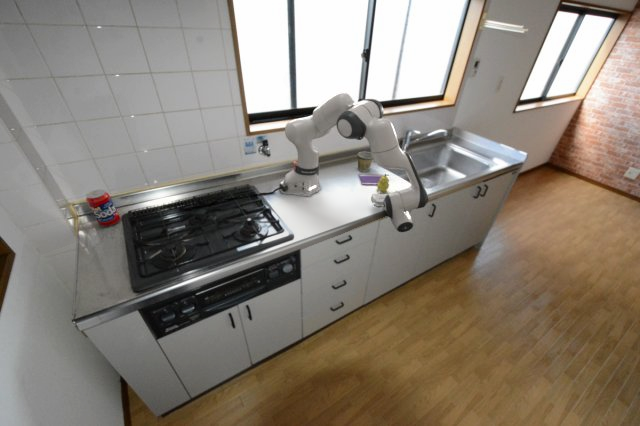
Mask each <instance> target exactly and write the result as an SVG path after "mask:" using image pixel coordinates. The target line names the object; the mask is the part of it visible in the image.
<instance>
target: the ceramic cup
mask: <svg viewBox="0 0 640 426" xmlns="http://www.w3.org/2000/svg"><path fill="white" fill-rule="evenodd" d="M373 161H374V159H373V157H372V153H371V151H360V152H357V170H358V171H359V172H362V173H364V172H368V171H370V169H371V165H372V163H373Z"/></svg>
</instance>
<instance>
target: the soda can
mask: <svg viewBox="0 0 640 426" xmlns="http://www.w3.org/2000/svg"><path fill="white" fill-rule="evenodd" d="M85 197H86V198H85V202H86V203H87V205H88V207H89V209H90V211H91V212H92V213H93V216H94V217H95V219H96V221H97V223H98V225H99V226H101V227H111V226H114V225H116V224H117V223H119V221H120V220H121V216H120V214H119V212H118V210H117V208H116V205H115V203H114V201H113V200H112V198H111V196H110V193H108V192H107V191H106V190H105V189H95V190H92V191H89V192H88V193H86V194H85Z"/></svg>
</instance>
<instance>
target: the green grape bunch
mask: <svg viewBox="0 0 640 426" xmlns="http://www.w3.org/2000/svg"><path fill="white" fill-rule="evenodd" d="M389 176H390V175H389V174H386V173H384V175H383V176H382V177H381V178H380V180H379V182H378V185H376V186H377V192H378V191H381V192H382V193H381V194H387V190H388V189H389V187H390V185H389V183H390V179H389Z"/></svg>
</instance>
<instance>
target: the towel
mask: <svg viewBox="0 0 640 426" xmlns="http://www.w3.org/2000/svg"><path fill="white" fill-rule="evenodd" d="M382 176H384V175H383V174H358V177H359V180H360V182H361V185H362V186H377V185H378V182H379V180H380V178H381V177H382Z"/></svg>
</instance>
